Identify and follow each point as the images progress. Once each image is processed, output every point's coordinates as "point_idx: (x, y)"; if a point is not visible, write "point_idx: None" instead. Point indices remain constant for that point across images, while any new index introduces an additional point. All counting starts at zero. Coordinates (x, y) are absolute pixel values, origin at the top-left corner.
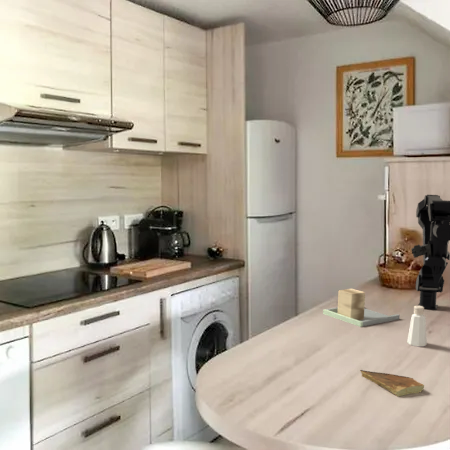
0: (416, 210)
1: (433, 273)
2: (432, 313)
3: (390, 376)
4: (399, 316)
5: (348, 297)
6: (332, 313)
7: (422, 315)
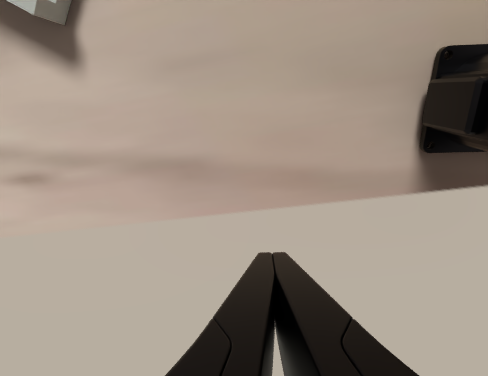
0: None
1: (203, 335)
2: (346, 145)
3: None
4: (39, 16)
5: None
6: None
7: None
